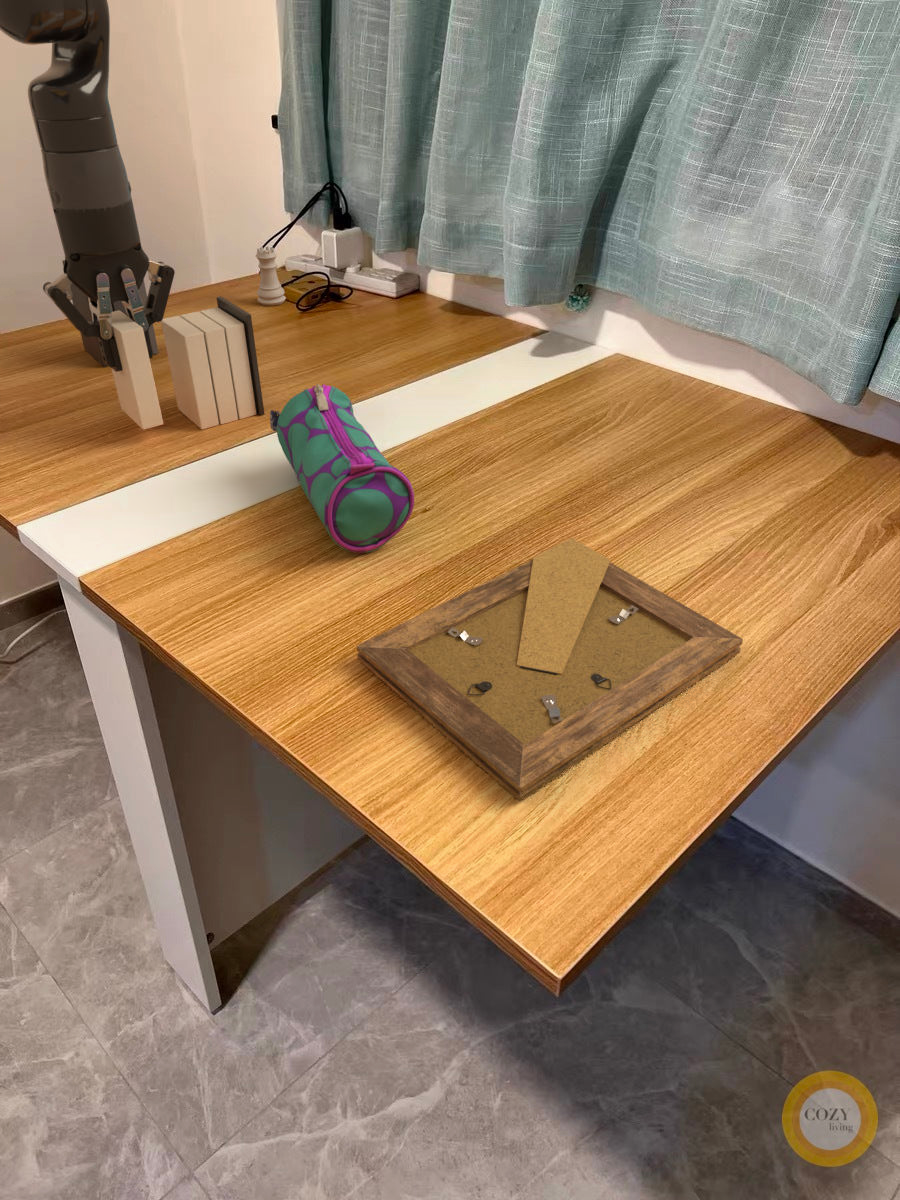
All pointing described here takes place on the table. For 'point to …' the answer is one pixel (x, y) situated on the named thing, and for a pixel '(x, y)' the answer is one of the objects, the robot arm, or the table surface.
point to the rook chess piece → (269, 279)
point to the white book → (135, 373)
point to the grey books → (83, 307)
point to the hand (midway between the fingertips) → (129, 365)
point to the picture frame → (546, 662)
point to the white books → (214, 364)
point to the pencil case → (342, 470)
